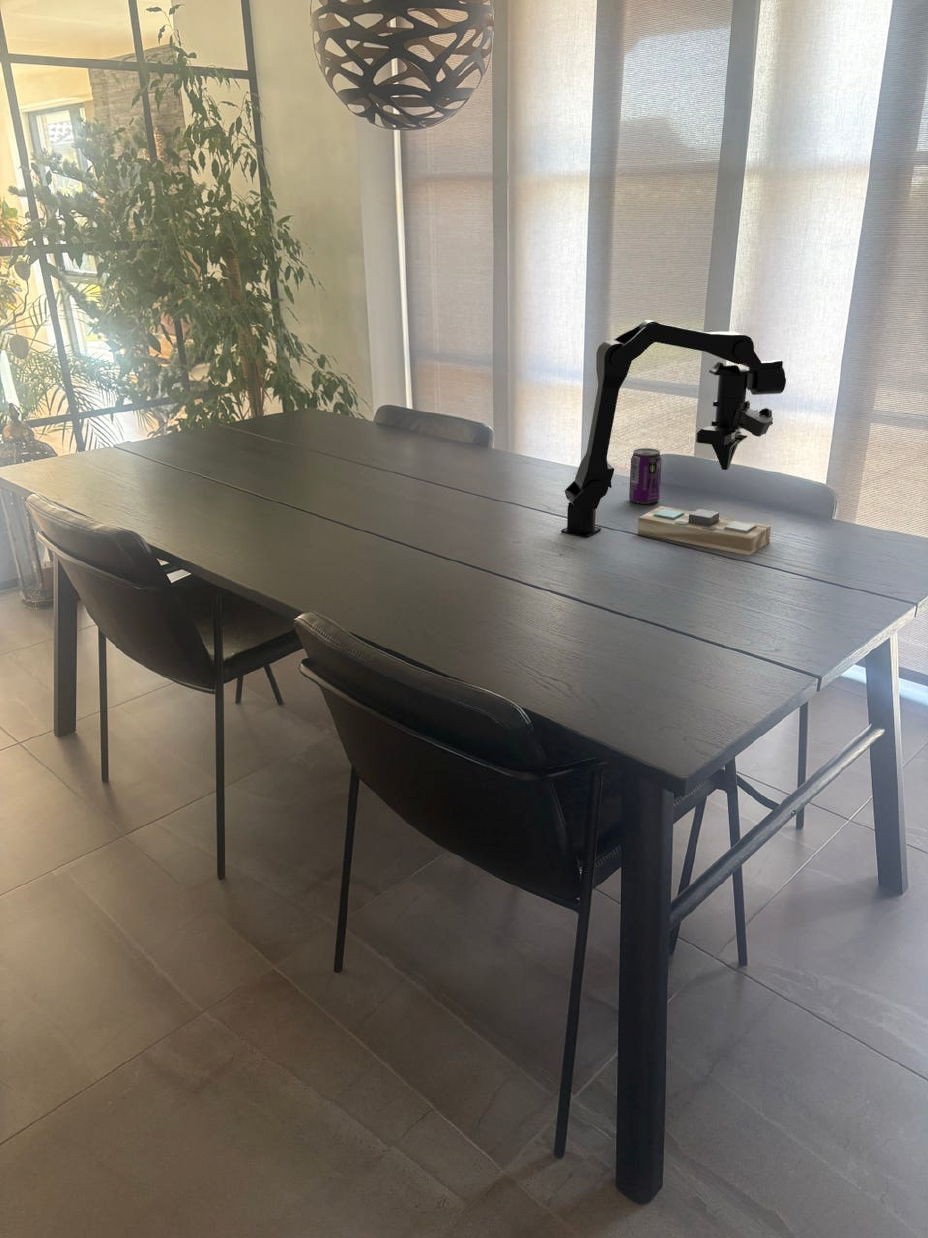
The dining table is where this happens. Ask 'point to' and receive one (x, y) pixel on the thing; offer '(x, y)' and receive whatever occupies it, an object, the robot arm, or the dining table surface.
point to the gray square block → (704, 517)
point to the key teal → (669, 514)
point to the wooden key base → (704, 532)
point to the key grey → (740, 527)
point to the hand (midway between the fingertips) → (725, 469)
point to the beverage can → (645, 476)
